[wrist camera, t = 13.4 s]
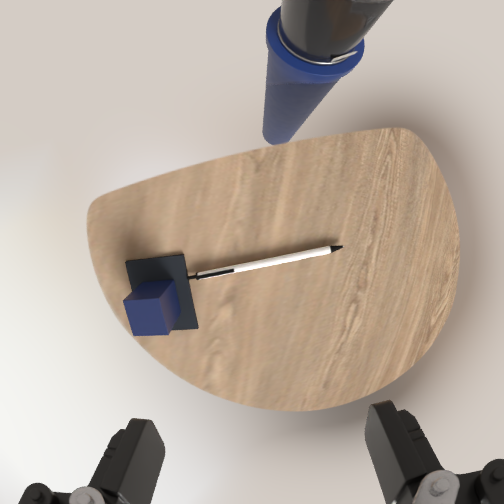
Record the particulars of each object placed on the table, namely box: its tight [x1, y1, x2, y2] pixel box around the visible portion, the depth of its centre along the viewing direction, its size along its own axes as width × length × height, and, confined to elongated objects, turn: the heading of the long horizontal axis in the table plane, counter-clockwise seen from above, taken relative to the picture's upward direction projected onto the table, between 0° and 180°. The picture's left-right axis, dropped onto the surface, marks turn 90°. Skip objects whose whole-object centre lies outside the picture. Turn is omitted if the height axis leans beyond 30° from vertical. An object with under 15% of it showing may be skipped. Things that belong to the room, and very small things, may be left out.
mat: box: [125, 254, 199, 330], centre depth 36 cm, size 10×8×1 cm
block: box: [123, 279, 181, 336], centre depth 32 cm, size 4×4×6 cm
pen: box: [187, 246, 344, 280], centre depth 34 cm, size 1×19×1 cm, turn 102°
